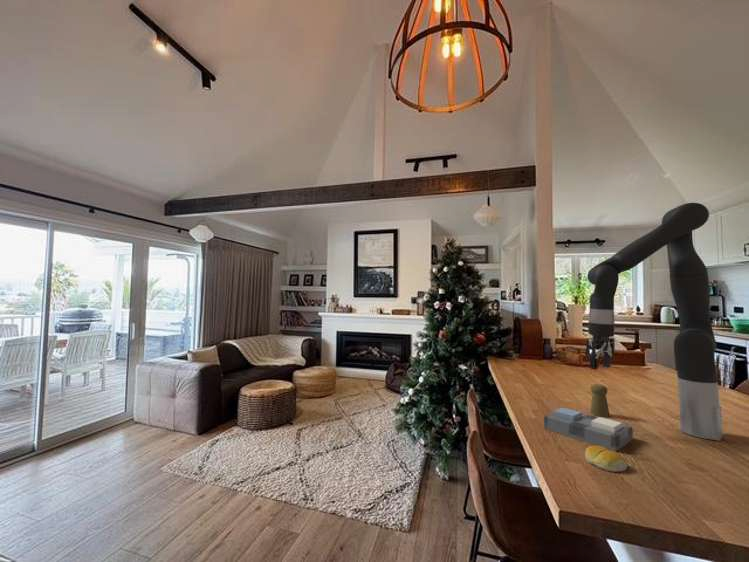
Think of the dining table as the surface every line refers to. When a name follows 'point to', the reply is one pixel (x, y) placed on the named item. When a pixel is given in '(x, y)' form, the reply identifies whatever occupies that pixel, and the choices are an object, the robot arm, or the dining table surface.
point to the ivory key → (606, 424)
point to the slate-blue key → (568, 414)
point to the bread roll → (605, 459)
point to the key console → (589, 431)
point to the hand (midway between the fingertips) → (600, 368)
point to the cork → (599, 401)
